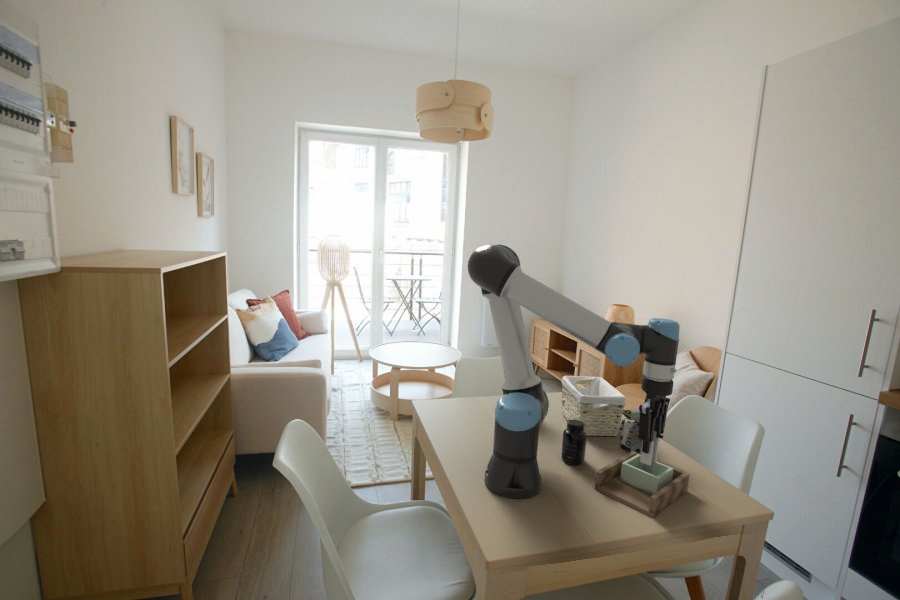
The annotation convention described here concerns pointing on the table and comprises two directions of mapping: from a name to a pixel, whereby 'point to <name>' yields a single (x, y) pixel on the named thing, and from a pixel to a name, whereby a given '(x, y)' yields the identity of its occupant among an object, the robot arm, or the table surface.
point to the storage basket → (593, 404)
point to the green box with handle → (646, 473)
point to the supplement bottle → (574, 443)
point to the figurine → (631, 431)
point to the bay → (635, 497)
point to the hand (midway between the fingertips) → (648, 461)
